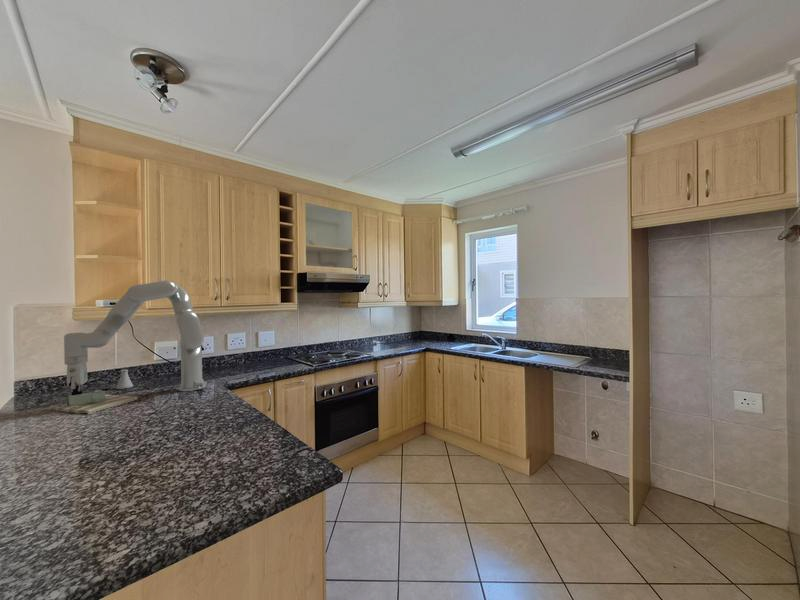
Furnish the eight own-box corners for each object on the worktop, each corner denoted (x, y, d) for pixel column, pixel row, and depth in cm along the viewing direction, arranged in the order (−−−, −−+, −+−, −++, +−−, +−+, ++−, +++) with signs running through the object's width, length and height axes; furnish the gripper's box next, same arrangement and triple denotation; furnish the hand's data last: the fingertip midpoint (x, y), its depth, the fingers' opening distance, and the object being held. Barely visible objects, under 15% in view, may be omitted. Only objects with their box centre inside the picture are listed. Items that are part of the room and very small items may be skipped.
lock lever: (106, 398, 153) (106, 388, 153) (104, 401, 149) (104, 390, 149) (68, 404, 146) (68, 393, 146) (65, 407, 142) (65, 395, 142)
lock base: (137, 399, 157) (137, 396, 157) (88, 414, 137) (88, 410, 137) (106, 397, 162) (106, 394, 162) (55, 411, 142) (55, 407, 142)
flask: (123, 389, 176) (122, 371, 176) (112, 389, 177) (112, 371, 177) (136, 386, 183) (136, 368, 183) (126, 386, 184) (125, 368, 184)
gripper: (82, 361, 143) (83, 402, 143) (92, 356, 156) (93, 394, 156) (58, 363, 139) (59, 406, 139) (70, 358, 152) (71, 397, 152)
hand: (77, 399), depth 148 cm, fingers closed
